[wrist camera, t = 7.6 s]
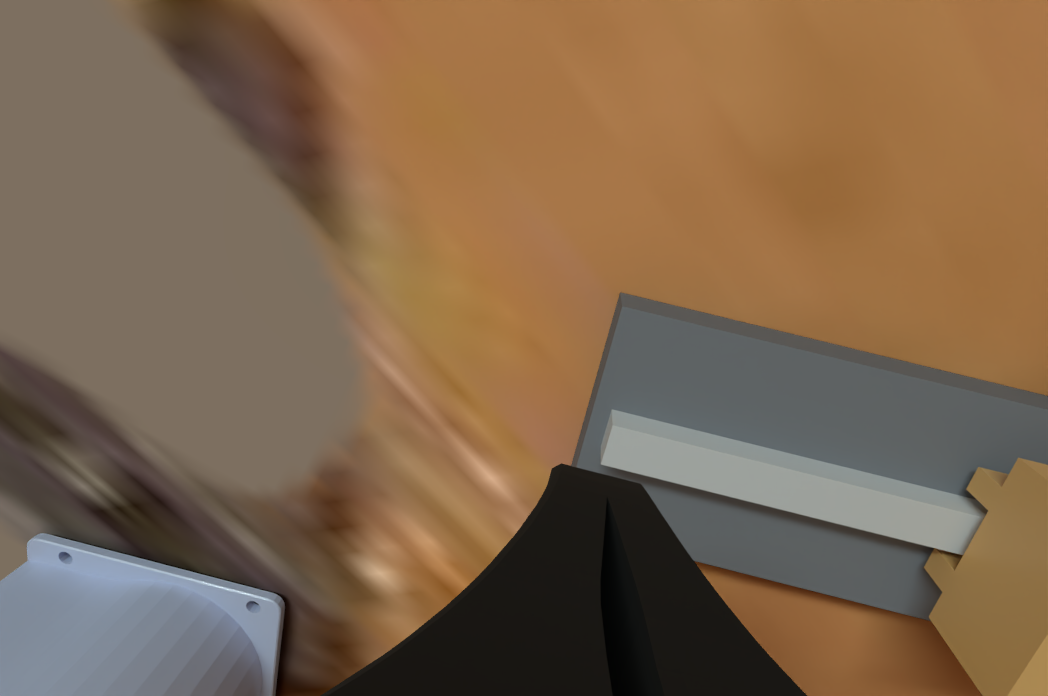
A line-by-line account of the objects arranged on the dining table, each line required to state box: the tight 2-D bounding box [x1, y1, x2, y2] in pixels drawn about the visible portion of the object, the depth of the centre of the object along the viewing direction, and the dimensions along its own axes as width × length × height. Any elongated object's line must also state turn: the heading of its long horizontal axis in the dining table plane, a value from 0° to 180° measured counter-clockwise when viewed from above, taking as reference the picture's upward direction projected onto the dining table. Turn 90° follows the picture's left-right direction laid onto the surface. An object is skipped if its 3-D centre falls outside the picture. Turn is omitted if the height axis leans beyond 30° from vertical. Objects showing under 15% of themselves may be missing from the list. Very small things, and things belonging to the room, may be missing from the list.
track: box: [571, 292, 1048, 621], centre depth 16 cm, size 16×7×5 cm, turn 77°
